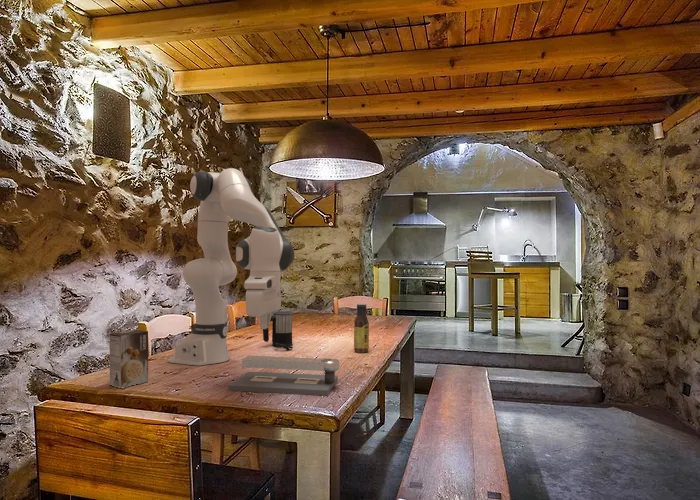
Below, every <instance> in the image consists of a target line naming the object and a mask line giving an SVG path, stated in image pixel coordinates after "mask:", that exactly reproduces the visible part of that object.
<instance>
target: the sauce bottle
mask: <svg viewBox="0 0 700 500" xmlns="http://www.w3.org/2000/svg"><path fill="white" fill-rule="evenodd" d="M356 310H357V311H356V316H355V318H354V322H353V323H354V325H353V347H354V348H353V351H354V352H355V353H358V354H359V353H360V354H361V353H362V354H363V353H364V354H365V353H368V352H369V347H370V341H369V340H370V322H369V319H368V317H367V304H366V303H359V304H356Z"/></svg>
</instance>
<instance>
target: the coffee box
mask: <svg viewBox="0 0 700 500" xmlns="http://www.w3.org/2000/svg"><path fill="white" fill-rule="evenodd" d="M147 382H149V331H148V330H139V329H132V330H125V331H120V332H113V333H109V386H110V385H112V386H115V387H114V388H116V387H120V388H122V387H126V388H128V387H127V386H130V387H132V386H131V385H134V386H137V385H136V384H138V385H140V384H145V383H147ZM112 386H111V387H112Z"/></svg>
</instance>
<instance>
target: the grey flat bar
mask: <svg viewBox="0 0 700 500" xmlns="http://www.w3.org/2000/svg"><path fill="white" fill-rule="evenodd" d="M241 360H242V361H241V365H242V366H241V368H248V369H249V368H251V369H252V368H253V369H268V370H269V369H271V370H272V369H273V370H274V369H275V370H295V371H296V370H297V371H317V372H325V371H335V372H337V371H339V369H340V359H337V358H315V357H295V356H294V357H291V356H289V357H288V356H269V355H268V356H266V355H247V356H245V357H243V358H242V359H241Z"/></svg>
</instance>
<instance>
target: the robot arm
mask: <svg viewBox="0 0 700 500" xmlns="http://www.w3.org/2000/svg"><path fill="white" fill-rule="evenodd" d="M189 183H190V184H189V187H190V188H189V189H190V193H191V195H192V197H193V198H194V199H195V200H198V201H200V202H199V207H198V215H197V216H198V217H197V237H196V240H197V243H198V245H199V246H200V248H201V249H202V251H203V256H204V257H200V258H196V259H193V260H191V261H189V262H187V263H186V264H185V265H184V267H183V270H182V277H183V281H184V282H185V283H186V284H187V285H188V286H189V288H190V290H191V292H192V295H193V298H194V303H195V322H194V323H193V324H191V325H189V326H188V327H189V328H188V329H189V330H191V331H190V333H189V334H188V335H187V336H186V337H184V338H183V339H182V340H180V341H179V342H178V343H177V344H176V346H175V349H174V355H173V356H170V357H168V359H167V363H169V364H171V363H172V364H180V365H189V366H190V365H191V366H196V367H197V366H199V367H200V366H205V365H206V366H207V365H212V364H213V365H214V364H218V363H224V362H227V361H229V360H230V359H231V358H230V353H229V350H228V342H227V337H228V323H227V303H226V301H225V299H224V298H223V297H222V295H221V292H220V288H219V287H221V286H226V285H228V284H230V283H232V282H233V281H235V279H236V277H237V274H238V268H237V265H238V266H239V267H240V269H244V270H250V272H249V276H248V277H247V279H245V281H244V285H243V288H244V290H246V292H245V310H246V311H245V312H246V314H247V317H253V318H254V317H255V318H257V317H258V319H259V320H258V321H259V322H260V329H261V330H263V329H267V328H270V326H271V325H270V324H271V321H270V319H271V316H272V313H273V312H277V311H278V310H280V309H281V307H282V293H281V288H280V287H281V271H286V270H287V269H288V268H289V267H291V265H292V264H293V262H294V260H295V248H294V247H293V245H292V243H291V242H290V241H289V240H288V238H286V237H285V235H284V233H283V232H282V230H281V229H280V227H279V224H278V223H277V221H276V220H275V218H274V216H273V214H272V213H271V212H270V211H271V210H269V208H268V207H267V206H265V205H264V204H263V203H261V201H259V199H257V197H255V195H254V193H253V192H252V183H251V182H250V180H249V178H247V177H245V175H244V174H243V172H242V171H240V169H239V170H238V169H237V168H233V167H230V168H229V167H228V168H225V169H223V170H222V171H221V172H213V171H212V172H209V171H208V172H207V171H203V170H202V171H196V172H195V173H194V174H192V176H191V180H190V182H189ZM229 218H231V219H234V221H239V222H243V223H247V224H251V225H252V226H255V227H253V228H252V229H251V232H250V235H249V236H248V237H247V238H244V239H241V240H240V241H239V242H238V243H237V244H236V246H235V248H234V249H235V250H234V259H235V261H234V262H233V260H232V256H231V253H230V249H229V243H228V242H229V240H228V238H229V237H228V236H229V235H228V229H229V228H228V227H229ZM235 262H236V264H237V265H236V264H235Z"/></svg>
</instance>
